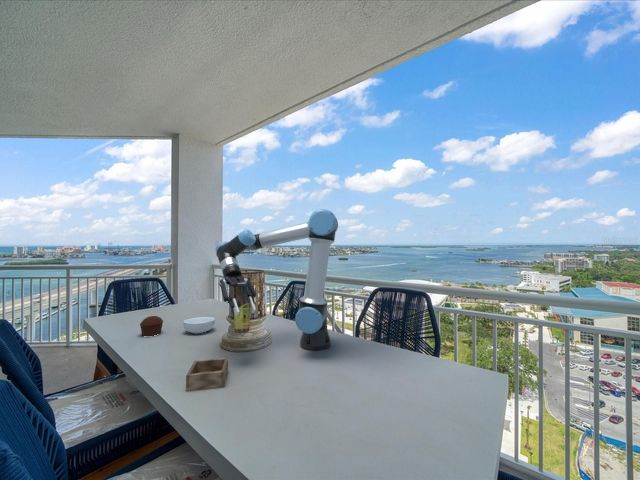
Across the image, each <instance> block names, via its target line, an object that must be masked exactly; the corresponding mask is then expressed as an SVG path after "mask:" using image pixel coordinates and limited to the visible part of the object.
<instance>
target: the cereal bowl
mask: <svg viewBox="0 0 640 480" xmlns="http://www.w3.org/2000/svg"><path fill="white" fill-rule="evenodd" d="M182 323H183V324H182V326H183V329H184V330H185V331H187V332H189V333H191V334H192V333H196V334H195V335H198V334H197V333H202V334H204V333H203V332H205V333H207V332H206V331H210V330H211V329H212V328H214V326H215V324H216V319H215V317H211V316H201V317H200V316H198V317H192V318H187V319H185V320H183V322H182Z"/></svg>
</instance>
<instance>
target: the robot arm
mask: <svg viewBox="0 0 640 480" xmlns="http://www.w3.org/2000/svg"><path fill="white" fill-rule="evenodd" d="M338 228H339V221H338V219H337V217H336V215H335V214H334V213H333V212H332V211H331V210H328V209H324V208H320V209H317V210H315V211H314V212H313V213H311V215H310V216H309V219H308V221H307V222H303V223H300V224H295V225H289V226H287V227H282V228H277V229H273V230H269V231H265V232H261V233H257V234H256V233H255V234H254V233H253V232H252V231H251V230H249V229H247V228H245V229H244V230H242V231H240V232H239V233H238V234H237V235H235V237H233V238H232V239H231V240H229V241H224V240H223V241H222V242H221V241H220V242H218V244H217V245H216V246H215V253H216V257H217V259H218V262H219V267H220V269H221V272H222V275H223V279H219V282H218V286H219V287H220V289H221V291H220V292H221V295H222V300H223V302H227V303H228V304H229V306H230V308H231V309H233V313H234V312H235V315H236V316H238V314H239V309H238V306H237V303H236V300H235V298H236V297H235V298H234V288H238V287H237V283H247V295H248V298H249V301H250V313H251V314H254V313H255V311H256V309H257V308H256V306H255V303H256V301H255V298H256V296H257V292H256V289H255V288H254V286H253V284H252V282H251V277H249V276H248V277H247V278H246V277H244V276H243V274H242V271H241V268H240V265H239V262H238V260H237V256H239V255H240V254H242V253H243V252H244V251H257V250H260V249H263V248H268V247H272V246H276V245H281V244H287V243H291V242H296V241H300V240H304V239H308V240H309V241H310V249H309V258H308V263H307V269H306V270H307V271H306V279H305V286H304V292H303V296H301V297H300V298H299V304H298V305H299V306H298V311H297V312H296V314H295V325H296V327H297V329H298V330H300V332H301V333H302V334H301V337H300V339H299V347H301V348H302V349H304V350H309V351H321V350H325V349H326V350H327V349H329V348H330V347H331V346H332V340H331V337H330V334H329V331H328V300H327V298H326V297H324V293H325V287H326V280H327V271H328V265H329V258H330V257H329V256H330V250H331V245H332V244H333V243H335V238H336V233H337V231H338ZM226 285H227V286H228V291H227V286H226Z"/></svg>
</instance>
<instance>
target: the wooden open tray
mask: <svg viewBox="0 0 640 480" xmlns="http://www.w3.org/2000/svg"><path fill="white" fill-rule="evenodd" d="M228 372H229V358H228V357H224V358H214V359H213V358H211V359H200V360H199V359H198V360H194V361H193V363H192V365H191V366H190V368H189V369H188V372H187V373H186V376H185V381H186V382H185V391H186V392H189V391H190V392H191V391H200V390H208V389H210V390H211V389H217V388H225V385H226V381H227V377H228Z"/></svg>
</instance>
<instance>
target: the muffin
mask: <svg viewBox="0 0 640 480" xmlns="http://www.w3.org/2000/svg"><path fill="white" fill-rule="evenodd" d="M163 323H164V320H163V319H162V317H159V316H157V315H150V316H147V317H145V318H143V320H142V321H141V322H140V324H139V326H140V331H141V336H142V335H143V336H153V337H155V336H154V335H157V334H160V333H162V329H163V328H162V327H163ZM160 335H161V334H160ZM143 336H142V337H143ZM157 336H158V335H157Z"/></svg>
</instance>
